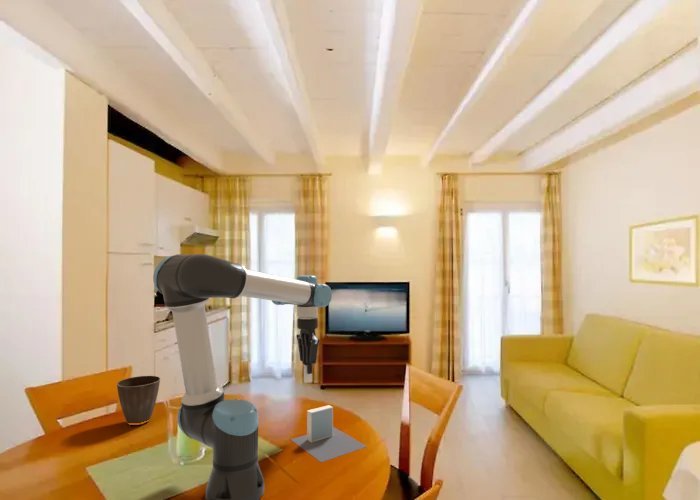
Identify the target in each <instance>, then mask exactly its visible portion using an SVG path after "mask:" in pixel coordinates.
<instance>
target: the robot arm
mask: <svg viewBox="0 0 700 500" xmlns="http://www.w3.org/2000/svg"><path fill="white" fill-rule="evenodd" d="M153 271H154V272H153V277H152V278H153V284H154V287H155V288H156V290H157V291H158V292H159V293H160V294H161V295H163V301H164V307H165V308H166V309H168V310H169V311H171V312H172V317H173V323H174V324H173V325H174V329H175V336H176V342H177V347H178V348H177V349H178V354H179V360H180V367H181V372H182V378H183V384H184V388H185V393H184V394H183V396H182V397H181V400H180V402H181V404H180V408H179V409H178V411H177V415H176V416H177V418H176V419H177V425H178V428H179V429H180V431H181V432H182V433H183V434H184V435H185V436H186V437H188V438H189V439H192V440H193V441H197V442H199V443H201V444H203V445H206V446H207V447H210V448H211V449H212V468H211V472H210V475H209V478H208V481H207V484H206V487H205V500H260V499H261V498H262V497H263V495H264V493H265V479H264V476H263V472H262V470H261V468H260V463H259V459H258V458H259V456H258V455H259V454H258V453H259V422H260V421H259V414H258V413H259V411H258V409H257V407H256V405H255V404H254V403H253V402H251V401H248V400H245V399H238V398H230V399H229V398H228V399H226V397H225V392H224V391H225V390H224V388H223V386H220V384H218V382H217V376H216V368H215V363H214V356H213V350H212V344H211V338H210V331H209V324H208V319H207V314H206V307H205V306H206V304H207V302H208V301H209V300H210V299H212V298H214V299H215V298H226V299H237V298H239V297H244V298H253V299H258V300H259V299H260V300H268V301H271V302H272V303H273V304H274V305H276V306H284V305H293V306H297V307H296V309H297V311H296V316H297V320H296V321H297V324H296V325H297V326H296V327H297V329H298V330H299V334H296V335H295V336H296V339H297V345H298V353H299V361H300V362H301V363H302V364H303V383H304V384H308V383H312V382H313V365H314V364H317V357H318V349H319V344H320V338H317V337H316V335H317V334H316V329H318V326H319V324H318V323H319V319H318V316H319V313H318V310H319V308H325V307H327V306H329V305H330V303H331V301H332V295H333V293H332V292H333V291H332V289H331V287H330V286H329V285H327V284H324V283H318V277H317V276H316V275H298V276H297V278H296V279H295V278H290V277H286V276H281V275H276V274H273V273H272V274H271V273H267V272H261V271H256V270H253V269H249V268H248V269H247V268H245V266H244V265H243V264H242V263H238V262H237V263H236V262H232V261H229V260H227V259H224V258H223V259H222V258H219V257H216V256H212V255H210V254H209V255H208V254H202V253H200V254H199V253H197V254H196V253H195V254H186V253H185V254H184V253H181V254H174V255H173V254H172V255H169V256H166V257H165V258H163V259H162V260H161V261H159V263H158V264H157V265H156V267H155V269H154V270H153Z"/></svg>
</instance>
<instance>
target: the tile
mask: <svg viewBox="0 0 700 500" xmlns="http://www.w3.org/2000/svg"><path fill="white" fill-rule="evenodd" d="M333 427H334V406H332V405H330V404H328V405H324V406H320V407H317V408H316V407H315V408H311V409H308V410H306V435H307V440H308V441H310V442H314V441H317V440H321V439H324V438H327V437H330V436H333Z"/></svg>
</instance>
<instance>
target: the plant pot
mask: <svg viewBox="0 0 700 500" xmlns="http://www.w3.org/2000/svg"><path fill="white" fill-rule="evenodd" d="M160 381H161V377H160V376H156V375H141V376H140V375H139V376H133V377H129V378H124V379H122V380H119V381H118V382H117V383H116V387H117V394H118V399H119V403H120V407H121V410H122V413H123V416H124V418H125V421H126V423H127V422H128V423H141V422H144V421H147V420H149V419H150V420H151V418H152V415H153V414H154V413H153V412H154V409H155V406H156V402H157V398H158V395H159V394H158V393H159V390H160V383H161V382H160ZM128 423H127V424H128Z"/></svg>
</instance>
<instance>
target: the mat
mask: <svg viewBox="0 0 700 500" xmlns="http://www.w3.org/2000/svg"><path fill="white" fill-rule="evenodd" d="M290 441H292V442H293V443H294V444H296V445H297V446H299V447H300V448H301V449H302V450H303V451H305V452H306V453H308V454H309V455H311V456H312V457H313V458H315V459H316V460H317V461H319V462H320V463H323V462H326V461H329V460H332V459H335V458H338V457H341V456H343V455H344V456H345V455H347V454H350V453H354V452H356V451H359V450H361V449H365V448H367V447H368V446H367V445H366V444H364V443H362V442H360V441H359V440H357V439H355V438H354V437H352V436H351V435H348V434H347V433H345V432H343V431H341V430H339V429H338V428H337V427H335V426H333V436H330V437H327V438H324V439H321V440H317V441H314V442H310V441H308V440H307V434H304V435H300V436H298V437H293V438H290Z"/></svg>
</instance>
